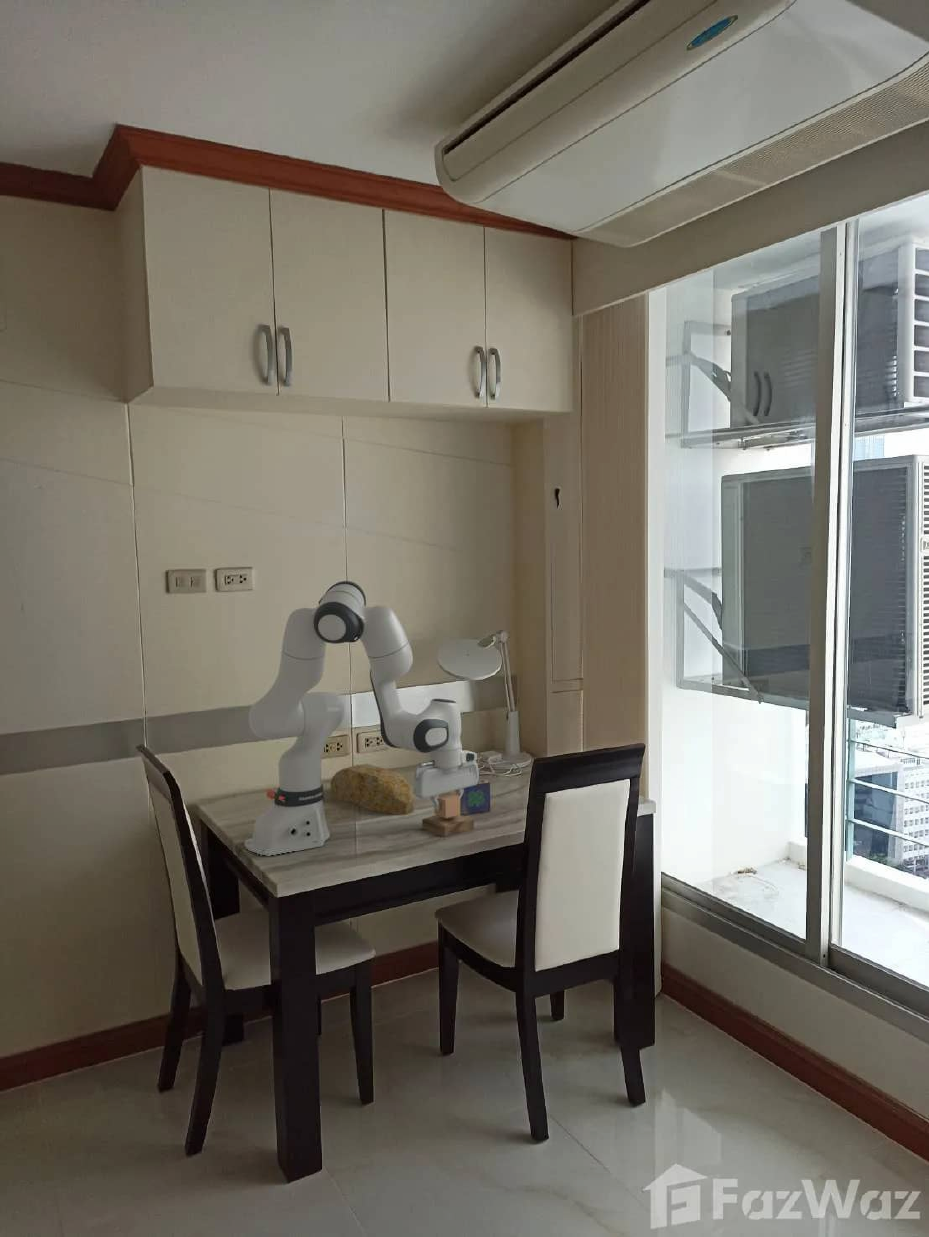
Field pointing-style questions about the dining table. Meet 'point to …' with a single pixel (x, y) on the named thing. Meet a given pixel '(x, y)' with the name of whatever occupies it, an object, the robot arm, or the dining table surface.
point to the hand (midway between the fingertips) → (447, 807)
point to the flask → (476, 799)
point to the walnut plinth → (447, 824)
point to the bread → (374, 789)
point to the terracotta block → (449, 805)
